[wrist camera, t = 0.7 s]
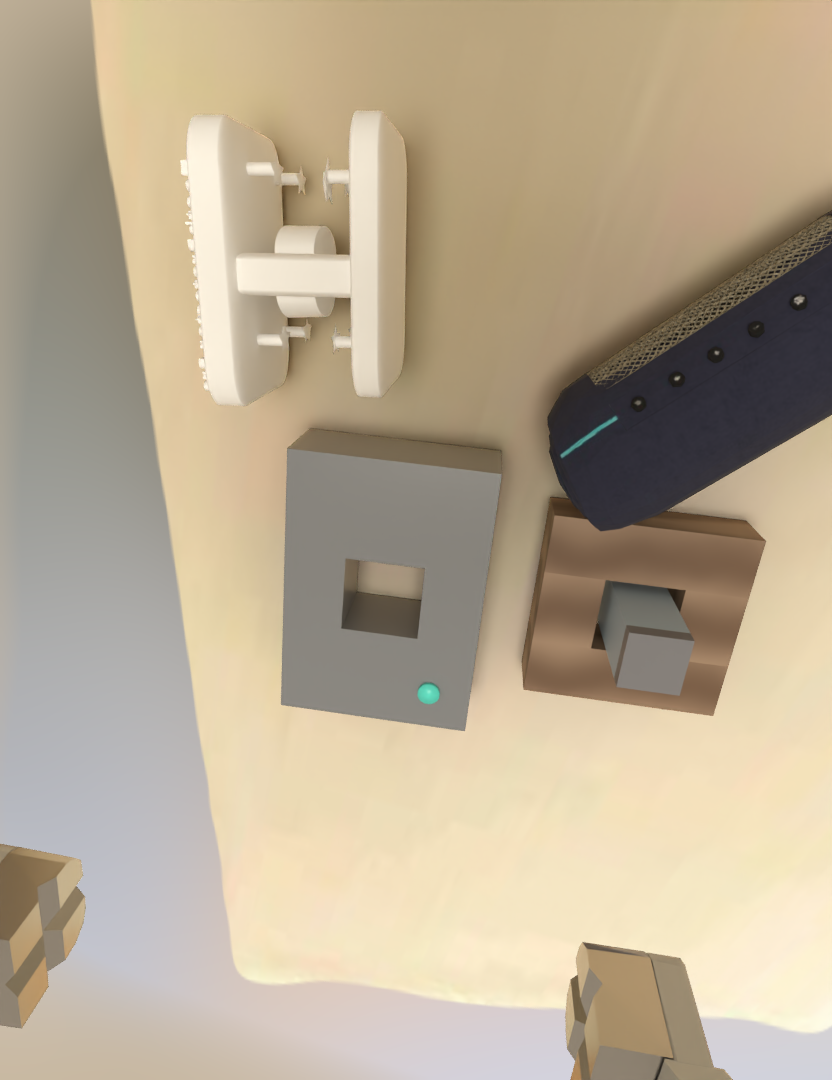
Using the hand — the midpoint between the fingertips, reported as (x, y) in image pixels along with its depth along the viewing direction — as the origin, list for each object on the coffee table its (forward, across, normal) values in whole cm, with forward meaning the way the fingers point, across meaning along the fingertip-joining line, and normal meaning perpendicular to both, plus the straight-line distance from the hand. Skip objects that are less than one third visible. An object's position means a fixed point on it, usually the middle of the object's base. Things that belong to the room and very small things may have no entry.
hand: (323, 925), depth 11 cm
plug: (+42, -14, +11) cm, 46 cm away
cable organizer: (+42, +10, -10) cm, 44 cm away
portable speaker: (+42, -17, -6) cm, 45 cm away
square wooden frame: (+42, -14, +11) cm, 46 cm away
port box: (+42, +4, +12) cm, 43 cm away
